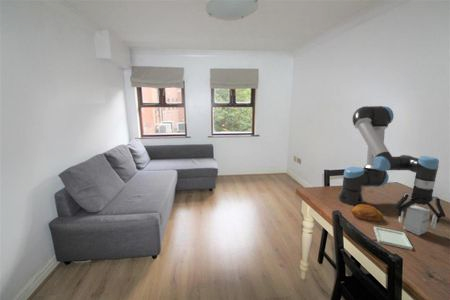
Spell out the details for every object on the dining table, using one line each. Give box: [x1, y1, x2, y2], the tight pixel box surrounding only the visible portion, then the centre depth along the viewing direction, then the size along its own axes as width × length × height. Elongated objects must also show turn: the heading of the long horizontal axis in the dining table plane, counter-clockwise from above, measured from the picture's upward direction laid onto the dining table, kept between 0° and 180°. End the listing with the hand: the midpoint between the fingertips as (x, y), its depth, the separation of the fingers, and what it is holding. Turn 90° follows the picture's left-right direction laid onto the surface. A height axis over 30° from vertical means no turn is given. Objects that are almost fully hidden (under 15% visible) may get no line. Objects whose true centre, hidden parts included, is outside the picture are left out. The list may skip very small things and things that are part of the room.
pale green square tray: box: [373, 226, 413, 251], centre depth 108 cm, size 13×13×1 cm
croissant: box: [351, 203, 384, 222], centre depth 129 cm, size 14×16×8 cm
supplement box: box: [403, 204, 432, 236], centre depth 114 cm, size 7×7×13 cm
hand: (416, 224), depth 114 cm, fingers open, 13 cm apart
